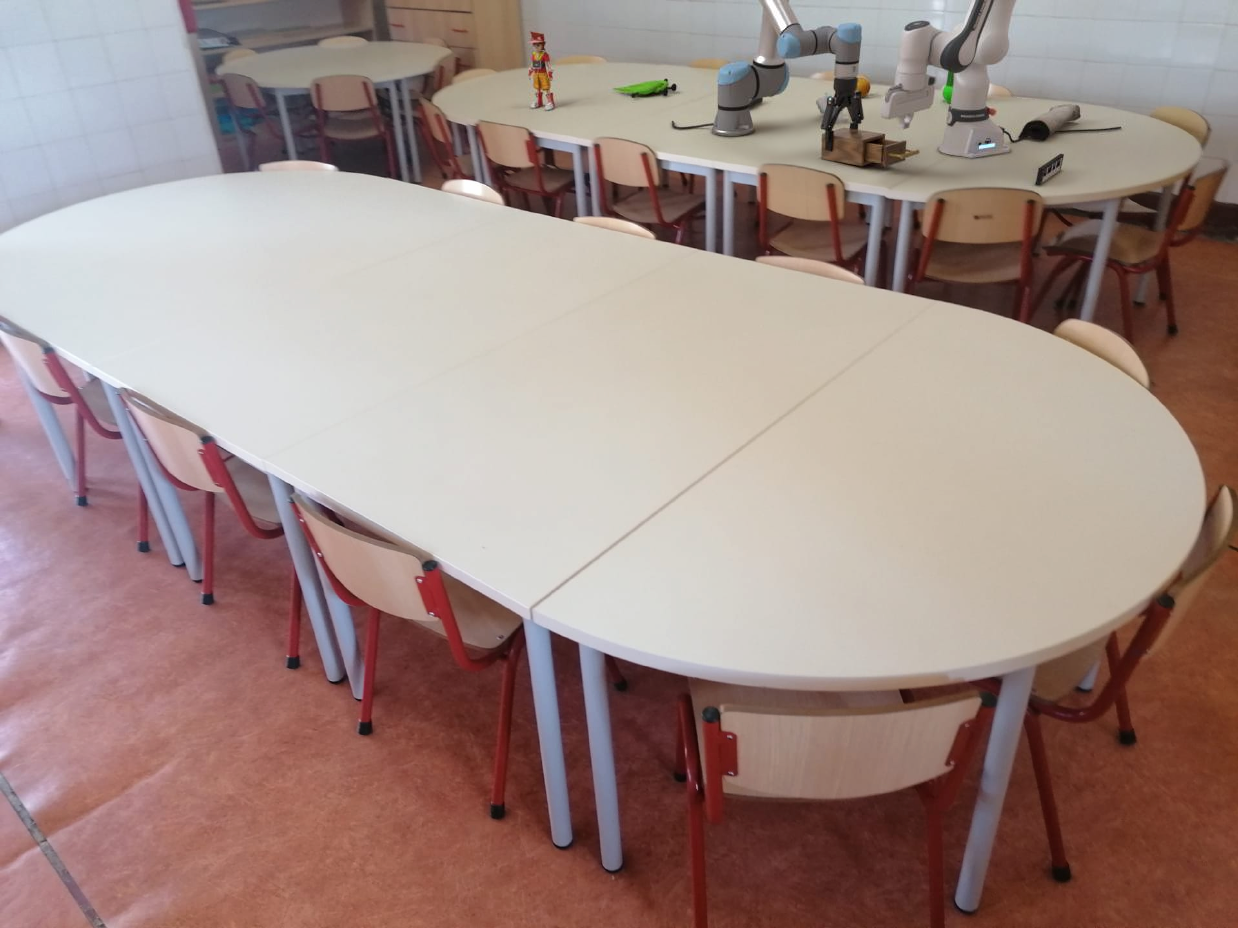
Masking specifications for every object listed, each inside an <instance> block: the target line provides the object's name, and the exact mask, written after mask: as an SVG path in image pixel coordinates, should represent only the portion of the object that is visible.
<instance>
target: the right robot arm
mask: <svg viewBox="0 0 1238 928" xmlns="http://www.w3.org/2000/svg"><path fill="white" fill-rule="evenodd" d="M1016 3H1017V0H970V5H969V8H968V10H967V13H966V16H965V18H964V21H961V22H959V23H958V24H956V25H955V26H954V28H953V29H952V30H951V32H949V31H945V30H941V29H938V28H936V27H935V26H933V25H932V24H931V22H930V21H928V20H916V21H911V22H909V23H907V24H906V25H905V26H904V27H903V29H902V32H901V35H900V39H899V45H898V50H897V51H898V52H897V58H898V64H897V67H896V69H895V77H894V85H890V86H889V87H888V88H887V89H886V91H885V93H884V95H883V98H882V102H881V107H880V117H881V118H882V119H885V120H893V119H896V118H897V121H898V129H899V130H900V131H904V130H907V129H910V126H911V122H912V120H913V119H914V116H915V113H918V112H921V111H925V110H929V109H930V108H931V107H932V106H933V104H934V100H935V99H934V98H935V93H936V92H935V91H936V87H935V85H936V83H937V76H934V75H929V74H927V72H928V66H930V67H931V66H932V67H934V68H938V69H942V70H945V71H947V72H948V71H949V72H952V73H954V84H953V91H952V98H951V103H950V105H948V110H947V115H946V127H945V131H944V133H943V137H942V140H941V142H940V144H939V147H938V151H939V152H941V153H943V154H945V155H949V156H954V157H955V156H956V157H964V158H970V159H975V158H980V157H988V156H994V155H1000V154H1001V155H1002V154H1007V153H1010V150H1011V149H1010V146H1009V145H1008V144H1007V143H1005V135H1007V136H1008V139H1009V141H1010V143H1018V142H1020V141H1022V140H1024V139H1026V138H1029V137H1028V136H1024V137H1021V138H1020V139H1016V140H1014V139H1012V135H1011V133H1009V131H1007V130H1006V128H1005V127H1002V126H1000V125H997V123H995V122H994V121H993V120H992V119H991V118H990V116H991V117H994V116H995V115H997V110H996V109H995V108H993V107H991V108H990V107H989V106H987V102H988V95H989V90H990V85H991V80H990V76H989V74H988V66H993V65H996V64H998V63H1000V62H1002V60H1003V59H1004V58H1005V57H1006V56H1007V54H1008V52H1009V48H1010V39H1009V30H1010V25H1011V20H1012V19H1011V18H1012V15H1013V11H1014V7H1015V5H1016ZM1121 129H1122V126H1116V127H1114V126H1113V127H1104V128H1088V129H1086V128H1085V129H1060V130H1059V129H1057V130H1056V131H1055V132H1054V133H1053V134H1057V133H1083V132H1087V133H1088V132H1106V131H1113V130H1114V131H1115V130H1121Z"/></svg>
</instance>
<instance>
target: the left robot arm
mask: <svg viewBox="0 0 1238 928" xmlns="http://www.w3.org/2000/svg"><path fill="white" fill-rule="evenodd" d="M758 1H759V2H760V5H761V6H762V15H761V24H760V33H759V39H758V40H759V42H758V48H757V53H756V54H755V55H754V56H753V57H752V64H751V63H750V62H749V61H733V62H730V63H726V64H724V65H723V66H721V67H720V68H719V70H718V75H717V111H716V114H715V118H714V120H713V122H711V123H704V124H697V125H690V126H677V125H675V121H674V120H671V126H672V128H674V129H677V130H689V129H691V130H692V129H696V128H697V129H698V128H704V127H712V133H713V134H715V135H717V136H721V137H741V136H746V135H750V134H752V133H754V127H755V126H754V122H753V118H752V115H751V111H750V109H749V100H751V99H757V98H763V99H764V98H772V97H774V96H777V95H781V94H782V93H783V92H784V91H786V89H787V87H788V85H789V81H790V71H789V70H790V68H789V65H788V63H787V62H786V60H795V59H798V58H804V57H810V56H811V57H813V56H818V55H825V54H830V55H835V60H834V72H833V75H834V78H833V86H832V87H833V88H832V89H833V91H834V94H833V96H832V98H831V97H828V98H827V106H826V109H825V113H824V114H823V118H822V120H821V125H820V129H821V130H823V131H824V133H825V141H826V142H825V150H827V151H833V137H834V131H833V130H834V127H835V124H836V123H837V122H836V120H837V118H838V116H839V113H840V111H842V109H843V108H845V109H846V110H847V112H848V115H849V118H850V120H851V122H850V123H849V128H850V129H857V130H859V125H861V124H862V122H863V121H864V120H865V119H864V118H865V117H864V110H863V103H862V97H861V95H862V92H861V91H857V90H856V89H857V83H858V78H859V77H858V76H859V68H860V59H861V58H860V57H861V48H862V40H863V38H862V32H863V30H862V29H863V27H862V25H861V24H860V23H856V22H855V23H854V22H846V23H840V24H839V25H838V26H837V27H833V26H831V25H821V26H819V27H817V28H816V29H808V30H804V29H803V27H802V26H801V24H800V22H799V20H798V18H797V16H796V14H795V12H794V11H793V9H792V7H791V4H790V0H758ZM835 122H836V123H835Z"/></svg>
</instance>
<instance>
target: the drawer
mask: <svg viewBox="0 0 1238 928" xmlns="http://www.w3.org/2000/svg"><path fill="white" fill-rule="evenodd" d="M919 154H920V150H919V149H915V150H914V149H907V140H899V141H898V140H893V139H886V138H885V139H880V138H879V139H876V140H873V141H869V142H866V143H865V151H864V160H865V161H870V162H873V163H876V164H882V167H888V166H889V167H890V166H892V165H894V164H898V163H902V162H905V161H906V158H910V157H913V156H916V155H919Z"/></svg>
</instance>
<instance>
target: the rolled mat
mask: <svg viewBox="0 0 1238 928" xmlns="http://www.w3.org/2000/svg"><path fill="white" fill-rule="evenodd" d="M1081 116H1082V115H1081V107H1080V105H1078V104H1072V103H1067V104H1061V105H1054V106H1052V107H1050V108H1049V110H1048V111H1047V112H1045V113H1043V114H1041V115H1038V116H1036V117H1035V118H1033V119H1031V120H1030V121H1028V122H1026V123H1025V124H1024V125H1023V127H1022V129H1021V131H1020V133H1019V135H1018V137H1017V138H1018V139H1020V138H1021V137H1024V136H1028V137H1027V138H1030V139H1032V140H1033V141H1038V142H1045V141H1047V140H1048V139H1049V138H1050V137H1051V136H1053V135H1054V134H1055V133H1054V132H1055V131H1057V130H1059V129H1060V128H1061V127H1062V126H1064V125H1065V124H1066V123H1068V122H1074V121H1077V120H1079V119H1080V118H1081ZM1018 139H1017V140H1018Z"/></svg>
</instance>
